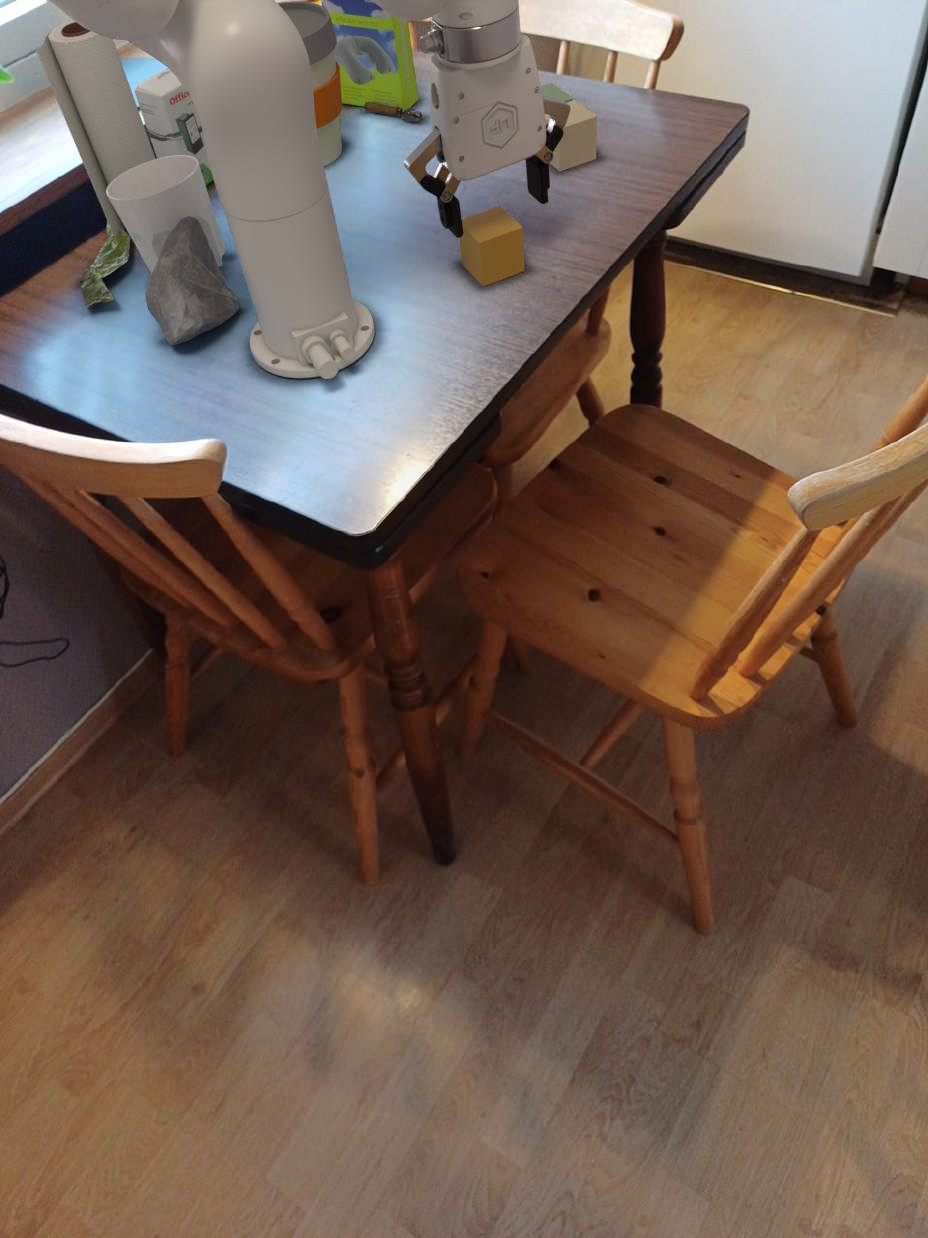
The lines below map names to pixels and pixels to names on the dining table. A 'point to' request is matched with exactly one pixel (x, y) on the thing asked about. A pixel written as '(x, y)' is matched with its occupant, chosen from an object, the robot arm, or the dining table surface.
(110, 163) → the paper towel roll
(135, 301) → the dining table surface
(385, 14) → the box
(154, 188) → the cup
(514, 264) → the ochre block
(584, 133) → the block
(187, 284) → the stone
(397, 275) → the dining table surface
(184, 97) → the ink box
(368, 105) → the can opener
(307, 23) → the reusable coffee cup
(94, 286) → the green crumpled strip
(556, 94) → the block
